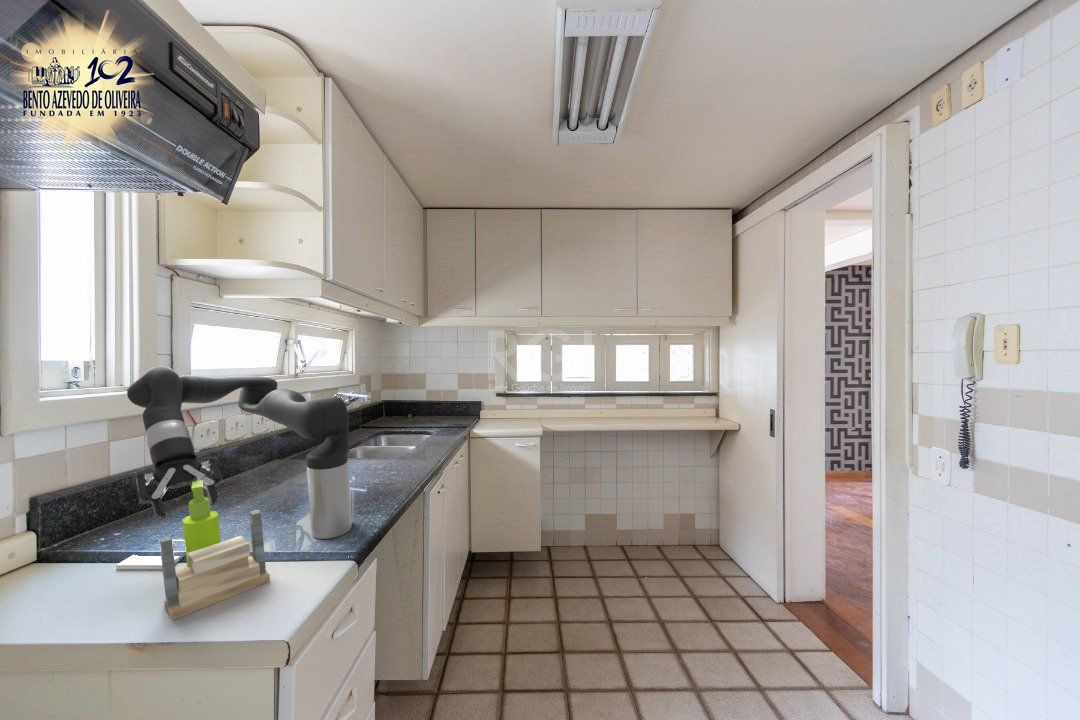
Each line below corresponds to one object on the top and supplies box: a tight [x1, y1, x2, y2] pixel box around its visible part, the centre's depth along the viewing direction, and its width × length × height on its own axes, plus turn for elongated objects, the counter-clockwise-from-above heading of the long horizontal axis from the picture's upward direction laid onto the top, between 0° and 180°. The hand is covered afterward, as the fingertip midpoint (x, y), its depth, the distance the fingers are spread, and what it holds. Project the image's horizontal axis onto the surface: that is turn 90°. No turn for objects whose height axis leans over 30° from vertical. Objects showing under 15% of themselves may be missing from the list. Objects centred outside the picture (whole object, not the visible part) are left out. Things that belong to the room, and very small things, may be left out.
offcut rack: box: [158, 509, 271, 621], centre depth 91 cm, size 6×16×14 cm, turn 139°
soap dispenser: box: [182, 480, 222, 568], centre depth 97 cm, size 6×7×20 cm
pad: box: [115, 539, 185, 570], centre depth 106 cm, size 11×11×1 cm
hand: (188, 510), depth 98 cm, fingers open, 8 cm apart
